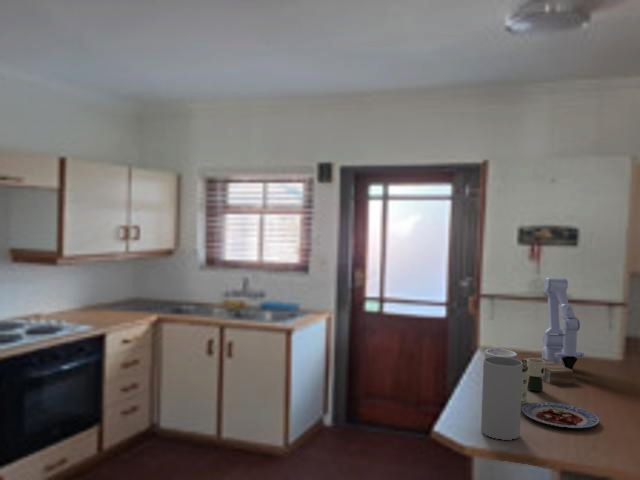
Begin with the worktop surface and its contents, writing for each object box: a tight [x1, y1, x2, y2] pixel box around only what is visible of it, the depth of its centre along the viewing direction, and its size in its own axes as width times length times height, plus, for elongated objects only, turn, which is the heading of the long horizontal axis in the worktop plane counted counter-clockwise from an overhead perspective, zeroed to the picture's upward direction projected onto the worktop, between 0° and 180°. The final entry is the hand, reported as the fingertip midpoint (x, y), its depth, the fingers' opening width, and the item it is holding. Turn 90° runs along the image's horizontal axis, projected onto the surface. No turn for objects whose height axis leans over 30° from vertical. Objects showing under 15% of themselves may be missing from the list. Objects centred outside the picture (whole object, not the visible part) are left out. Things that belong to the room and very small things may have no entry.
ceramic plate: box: [522, 401, 600, 429], centre depth 207 cm, size 26×26×3 cm
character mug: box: [527, 357, 545, 392], centre depth 241 cm, size 11×7×13 cm, turn 157°
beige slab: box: [521, 357, 574, 385], centre depth 263 cm, size 22×11×6 cm, turn 14°
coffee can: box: [521, 365, 528, 405], centre depth 227 cm, size 10×10×14 cm
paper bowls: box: [484, 348, 518, 360], centre depth 276 cm, size 15×15×8 cm
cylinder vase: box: [480, 357, 523, 441], centre depth 191 cm, size 12×12×25 cm
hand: (568, 372), depth 266 cm, fingers closed
